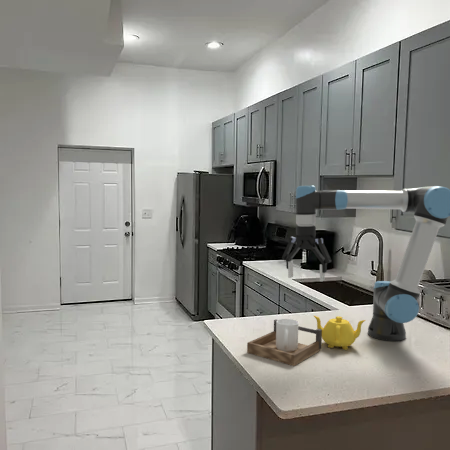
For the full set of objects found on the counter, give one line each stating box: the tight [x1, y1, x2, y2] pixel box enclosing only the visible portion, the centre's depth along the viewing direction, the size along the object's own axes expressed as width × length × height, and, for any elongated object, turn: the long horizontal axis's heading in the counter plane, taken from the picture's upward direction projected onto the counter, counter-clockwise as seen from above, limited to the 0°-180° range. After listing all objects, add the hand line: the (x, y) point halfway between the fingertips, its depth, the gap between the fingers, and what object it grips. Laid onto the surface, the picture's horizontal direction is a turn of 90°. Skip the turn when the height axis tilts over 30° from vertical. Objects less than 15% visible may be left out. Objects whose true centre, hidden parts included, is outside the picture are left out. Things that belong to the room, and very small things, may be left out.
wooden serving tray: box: [246, 319, 323, 367], centre depth 173 cm, size 20×20×8 cm
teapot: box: [313, 315, 366, 351], centre depth 180 cm, size 20×15×12 cm
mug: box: [276, 318, 299, 352], centre depth 172 cm, size 12×8×10 cm
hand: (306, 279), depth 181 cm, fingers open, 13 cm apart
